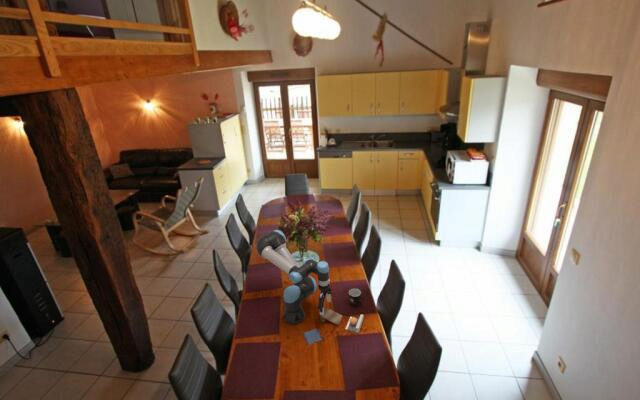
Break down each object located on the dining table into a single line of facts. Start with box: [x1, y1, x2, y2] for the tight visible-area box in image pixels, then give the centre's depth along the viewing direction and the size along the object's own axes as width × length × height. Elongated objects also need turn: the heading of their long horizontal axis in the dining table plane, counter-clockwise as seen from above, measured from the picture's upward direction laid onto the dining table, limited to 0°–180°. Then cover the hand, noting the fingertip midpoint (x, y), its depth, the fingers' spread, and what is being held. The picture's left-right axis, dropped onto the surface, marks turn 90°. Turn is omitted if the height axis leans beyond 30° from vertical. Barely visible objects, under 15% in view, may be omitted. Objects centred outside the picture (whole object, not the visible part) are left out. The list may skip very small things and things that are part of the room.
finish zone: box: [345, 314, 364, 334], centre depth 226 cm, size 9×13×4 cm
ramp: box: [319, 306, 344, 326], centre depth 232 cm, size 13×9×6 cm
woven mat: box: [302, 328, 323, 346], centre depth 219 cm, size 10×11×2 cm
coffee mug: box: [348, 288, 365, 307], centre depth 243 cm, size 12×9×10 cm
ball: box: [349, 316, 357, 325], centre depth 226 cm, size 5×5×5 cm
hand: (325, 308), depth 231 cm, fingers open, 13 cm apart
